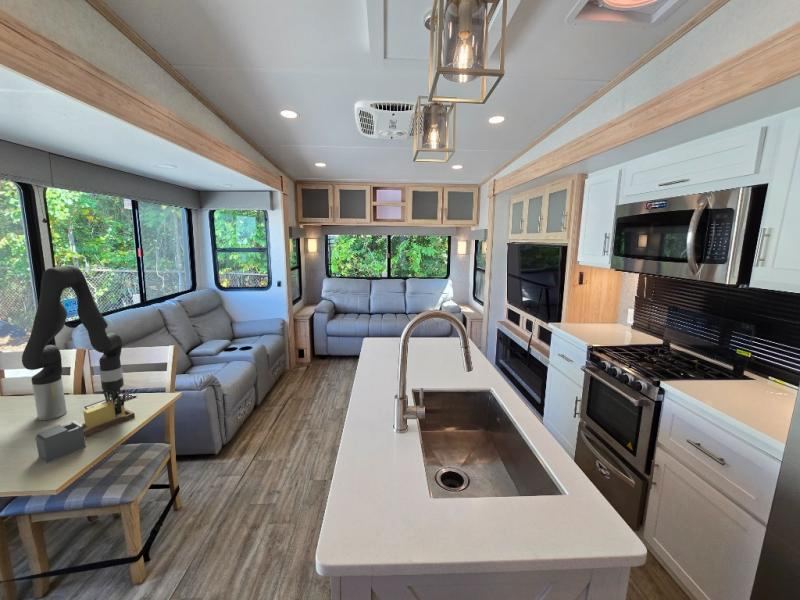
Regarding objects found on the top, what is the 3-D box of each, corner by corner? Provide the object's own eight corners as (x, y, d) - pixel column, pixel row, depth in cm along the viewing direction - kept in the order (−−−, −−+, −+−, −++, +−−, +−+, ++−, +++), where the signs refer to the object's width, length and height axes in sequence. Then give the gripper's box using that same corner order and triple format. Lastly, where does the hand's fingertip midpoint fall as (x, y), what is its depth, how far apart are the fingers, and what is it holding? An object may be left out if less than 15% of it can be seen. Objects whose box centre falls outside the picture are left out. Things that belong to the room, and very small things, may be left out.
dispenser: (38, 457, 124) (34, 433, 123) (77, 441, 134) (74, 419, 133) (47, 463, 122) (43, 439, 120) (85, 446, 132) (82, 424, 130)
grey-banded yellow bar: (85, 425, 142) (83, 410, 140) (121, 412, 153) (119, 398, 152) (89, 428, 140) (87, 413, 139) (125, 414, 152) (123, 400, 151)
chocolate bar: (137, 395, 172) (94, 411, 156) (137, 397, 172) (94, 413, 156) (127, 391, 175) (84, 406, 159) (127, 393, 176) (84, 408, 159)
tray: (75, 431, 141) (74, 426, 140) (124, 412, 157) (124, 408, 157) (85, 437, 137) (84, 432, 137) (134, 417, 153) (134, 412, 153)
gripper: (93, 377, 146) (98, 412, 150) (110, 384, 141) (114, 420, 144) (113, 371, 153) (117, 405, 156) (130, 378, 147) (134, 413, 150)
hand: (116, 412), depth 150 cm, fingers closed on grey-banded yellow bar, 3 cm apart
